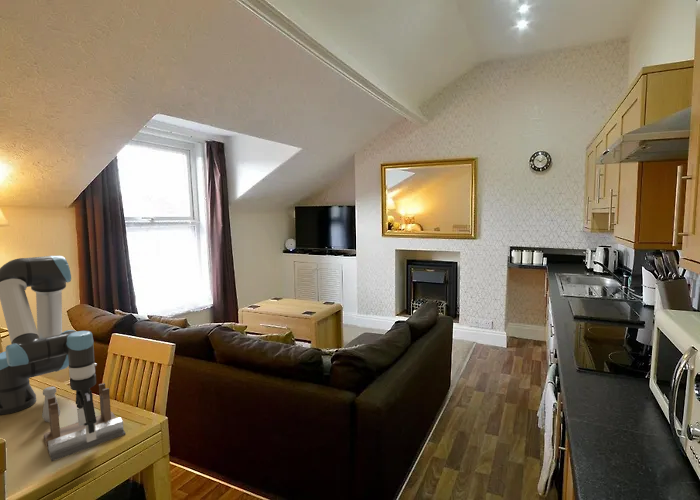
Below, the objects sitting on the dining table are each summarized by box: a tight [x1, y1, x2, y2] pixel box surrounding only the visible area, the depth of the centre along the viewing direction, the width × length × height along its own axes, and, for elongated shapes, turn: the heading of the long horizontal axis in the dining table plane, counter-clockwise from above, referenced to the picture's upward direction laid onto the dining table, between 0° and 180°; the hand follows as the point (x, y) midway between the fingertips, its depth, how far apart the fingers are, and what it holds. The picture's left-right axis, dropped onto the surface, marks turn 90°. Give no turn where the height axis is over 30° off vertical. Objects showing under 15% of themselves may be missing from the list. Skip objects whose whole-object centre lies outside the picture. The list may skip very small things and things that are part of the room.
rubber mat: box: [47, 429, 127, 462], centre depth 140 cm, size 9×22×1 cm, turn 134°
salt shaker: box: [41, 386, 61, 423], centre depth 154 cm, size 6×6×13 cm
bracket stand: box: [43, 382, 117, 448], centre depth 146 cm, size 8×22×14 cm, turn 134°
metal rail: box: [47, 416, 124, 457], centre depth 140 cm, size 4×22×4 cm, turn 134°
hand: (87, 432), depth 140 cm, fingers open, 13 cm apart
